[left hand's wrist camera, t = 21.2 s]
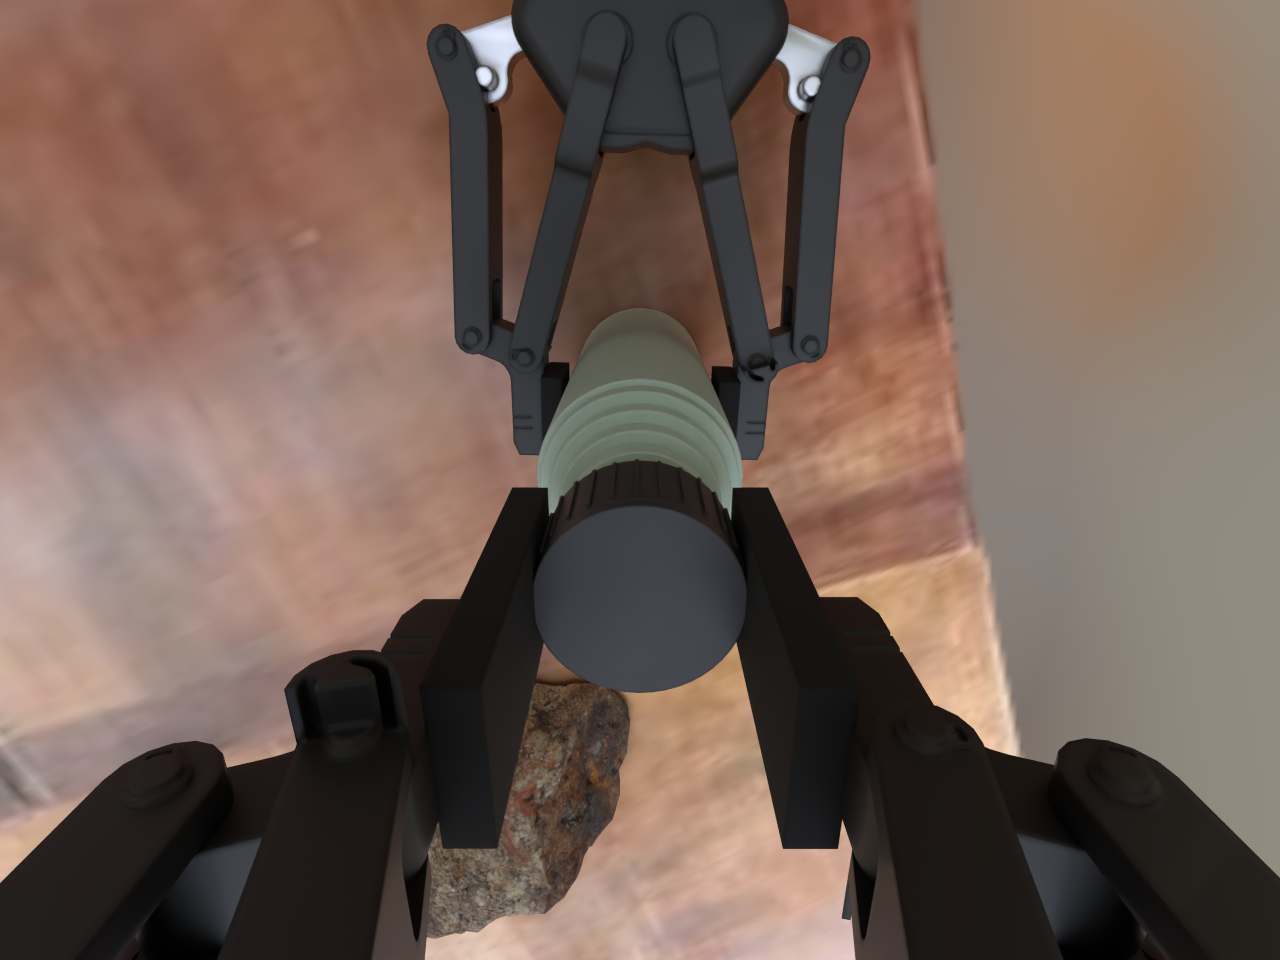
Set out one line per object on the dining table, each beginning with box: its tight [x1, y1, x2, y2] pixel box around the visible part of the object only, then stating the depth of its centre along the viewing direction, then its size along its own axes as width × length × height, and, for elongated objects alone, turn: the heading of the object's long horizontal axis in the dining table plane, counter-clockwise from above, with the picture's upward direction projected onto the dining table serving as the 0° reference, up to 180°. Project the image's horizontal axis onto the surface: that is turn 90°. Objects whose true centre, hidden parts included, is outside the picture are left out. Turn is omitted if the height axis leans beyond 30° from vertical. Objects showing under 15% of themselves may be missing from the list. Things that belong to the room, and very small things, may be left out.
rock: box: [427, 683, 630, 939], centre depth 36 cm, size 14×9×10 cm
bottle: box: [537, 308, 743, 519], centre depth 22 cm, size 6×6×20 cm
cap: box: [533, 459, 747, 693], centre depth 14 cm, size 4×4×2 cm
